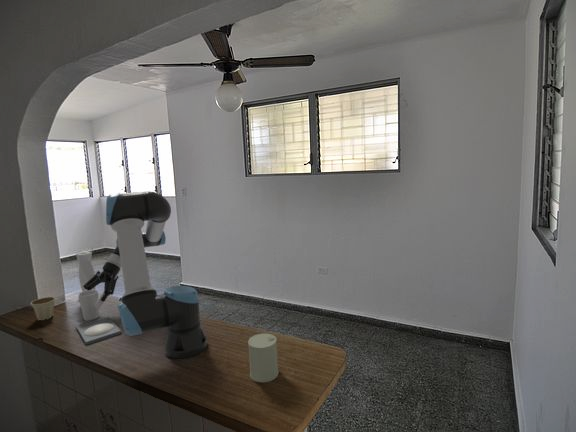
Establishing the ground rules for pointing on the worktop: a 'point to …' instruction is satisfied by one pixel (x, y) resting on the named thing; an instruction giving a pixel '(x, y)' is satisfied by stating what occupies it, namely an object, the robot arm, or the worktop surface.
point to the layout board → (98, 330)
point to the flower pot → (43, 307)
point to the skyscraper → (85, 267)
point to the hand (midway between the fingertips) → (87, 305)
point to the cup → (89, 304)
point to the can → (263, 357)
